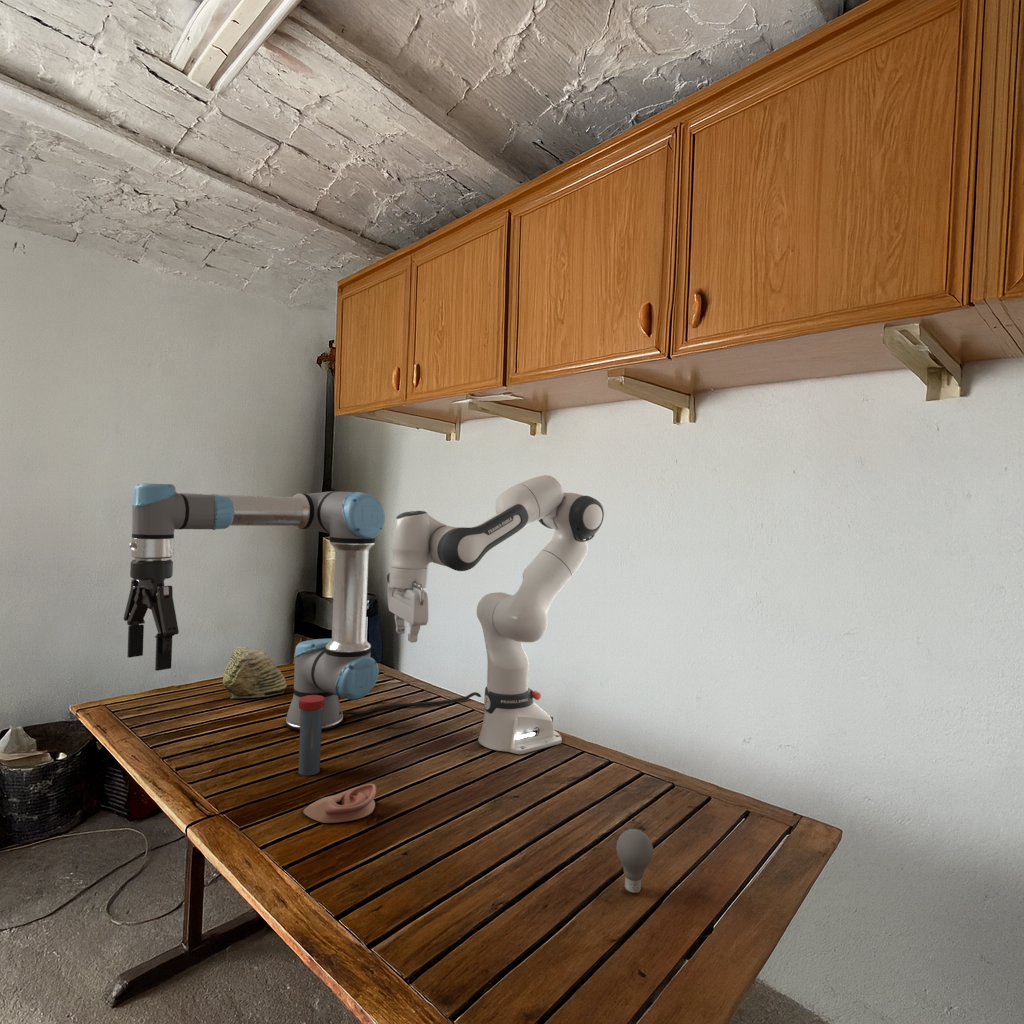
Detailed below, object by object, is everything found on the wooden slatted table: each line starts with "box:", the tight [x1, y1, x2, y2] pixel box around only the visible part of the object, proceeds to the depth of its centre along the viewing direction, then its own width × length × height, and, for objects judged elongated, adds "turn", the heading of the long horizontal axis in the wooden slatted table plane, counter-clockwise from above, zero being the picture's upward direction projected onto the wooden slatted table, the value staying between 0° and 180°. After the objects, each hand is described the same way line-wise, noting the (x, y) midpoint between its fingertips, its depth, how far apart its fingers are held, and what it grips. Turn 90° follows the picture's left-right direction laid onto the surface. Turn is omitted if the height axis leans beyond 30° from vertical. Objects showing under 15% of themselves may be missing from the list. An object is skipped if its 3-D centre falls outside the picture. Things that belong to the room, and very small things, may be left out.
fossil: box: [222, 646, 288, 699], centre depth 198 cm, size 9×18×15 cm, turn 132°
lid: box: [299, 695, 325, 711], centre depth 145 cm, size 6×6×2 cm
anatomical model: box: [302, 783, 377, 824], centre depth 128 cm, size 13×4×12 cm
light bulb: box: [615, 828, 654, 894], centre depth 106 cm, size 6×6×10 cm
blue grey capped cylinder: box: [297, 708, 322, 777], centre depth 146 cm, size 5×5×16 cm
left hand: (148, 662), depth 129 cm, fingers open, 13 cm apart
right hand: (406, 637), depth 150 cm, fingers open, 8 cm apart
